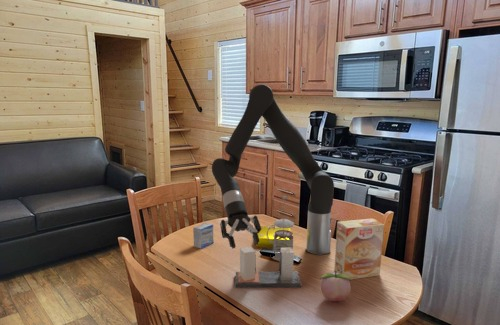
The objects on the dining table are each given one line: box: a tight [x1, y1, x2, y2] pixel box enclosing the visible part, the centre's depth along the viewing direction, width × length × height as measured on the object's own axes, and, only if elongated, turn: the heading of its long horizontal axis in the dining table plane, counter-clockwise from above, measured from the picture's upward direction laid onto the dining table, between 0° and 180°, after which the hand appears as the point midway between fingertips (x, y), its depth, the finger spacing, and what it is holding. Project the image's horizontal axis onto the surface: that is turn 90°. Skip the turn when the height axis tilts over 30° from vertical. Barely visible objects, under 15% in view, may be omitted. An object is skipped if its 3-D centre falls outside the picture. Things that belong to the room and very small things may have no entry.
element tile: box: [255, 225, 292, 249], centre depth 156 cm, size 15×15×5 cm
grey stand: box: [234, 248, 302, 289], centre depth 120 cm, size 22×8×12 cm, turn 92°
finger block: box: [239, 246, 257, 281], centre depth 120 cm, size 4×4×10 cm
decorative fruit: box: [319, 271, 352, 302], centre depth 109 cm, size 9×8×10 cm
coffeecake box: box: [333, 217, 385, 280], centre depth 126 cm, size 15×7×20 cm, turn 105°
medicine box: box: [192, 222, 215, 250], centre depth 150 cm, size 8×4×9 cm, turn 143°
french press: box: [267, 195, 295, 262], centre depth 139 cm, size 10×12×25 cm
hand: (245, 245), depth 122 cm, fingers open, 8 cm apart
